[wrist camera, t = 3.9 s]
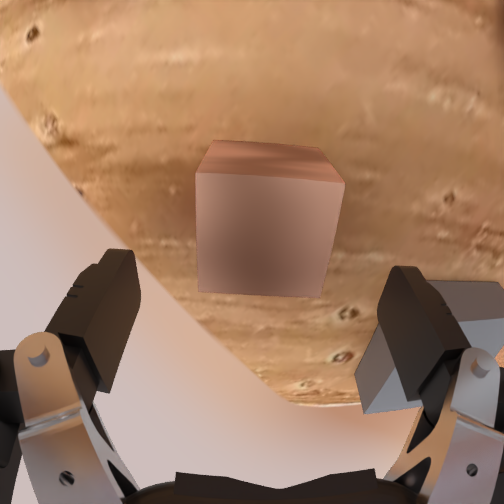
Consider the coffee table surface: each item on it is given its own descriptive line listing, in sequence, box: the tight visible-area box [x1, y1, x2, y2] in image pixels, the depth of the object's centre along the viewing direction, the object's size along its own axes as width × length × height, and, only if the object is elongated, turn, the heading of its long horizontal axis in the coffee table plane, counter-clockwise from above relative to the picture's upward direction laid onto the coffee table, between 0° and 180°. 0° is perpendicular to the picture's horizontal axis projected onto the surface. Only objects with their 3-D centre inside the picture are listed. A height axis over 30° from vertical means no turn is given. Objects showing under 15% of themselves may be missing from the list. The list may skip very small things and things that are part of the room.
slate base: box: [355, 281, 504, 414], centre depth 20 cm, size 10×10×4 cm
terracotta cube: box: [196, 140, 345, 298], centre depth 14 cm, size 5×5×5 cm
